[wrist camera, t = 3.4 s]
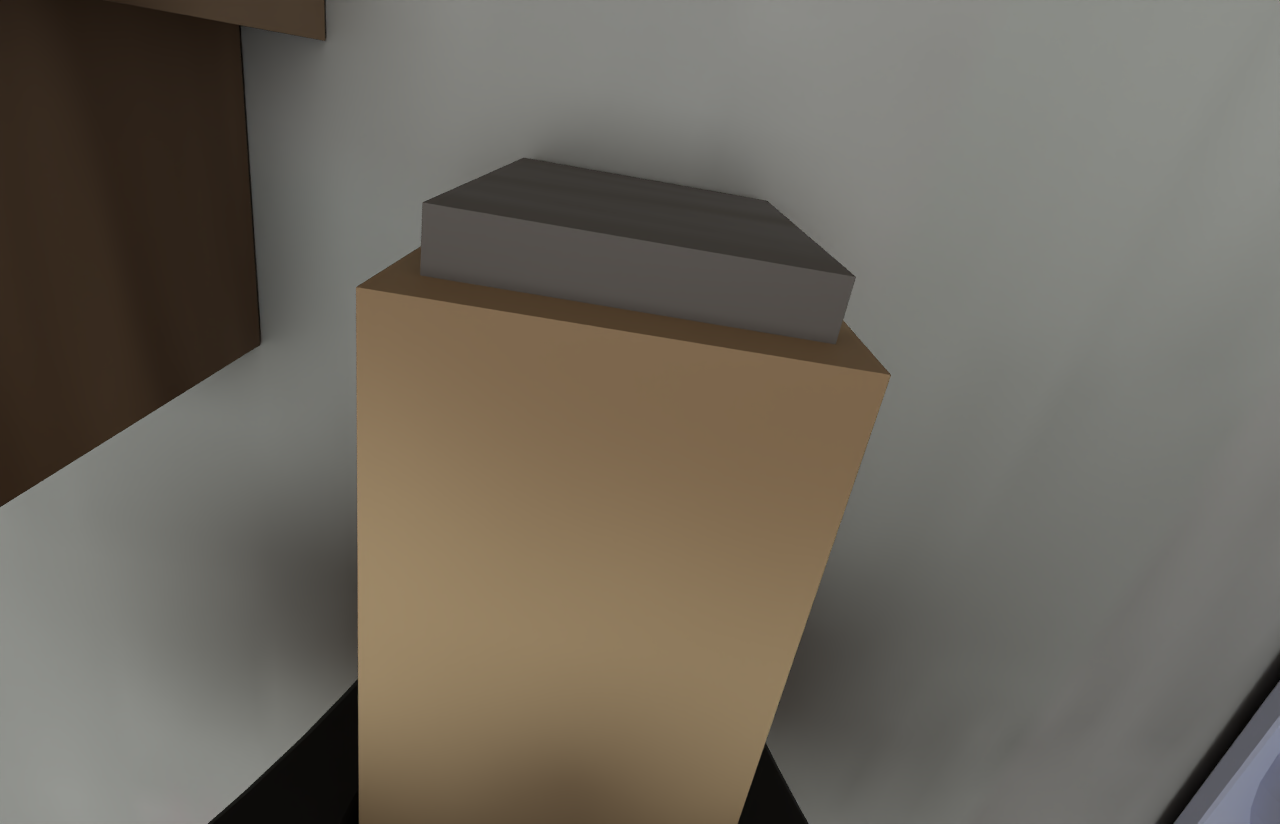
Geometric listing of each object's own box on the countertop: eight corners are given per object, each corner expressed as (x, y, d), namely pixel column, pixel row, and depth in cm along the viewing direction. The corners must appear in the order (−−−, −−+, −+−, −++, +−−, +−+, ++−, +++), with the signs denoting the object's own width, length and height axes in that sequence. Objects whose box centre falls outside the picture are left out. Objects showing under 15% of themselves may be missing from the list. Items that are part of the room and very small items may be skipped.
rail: (510, 151, 9) (356, 206, 4) (779, 198, 9) (916, 302, 4) (451, 867, 15) (360, 1214, 10) (613, 886, 15) (596, 1235, 10)
